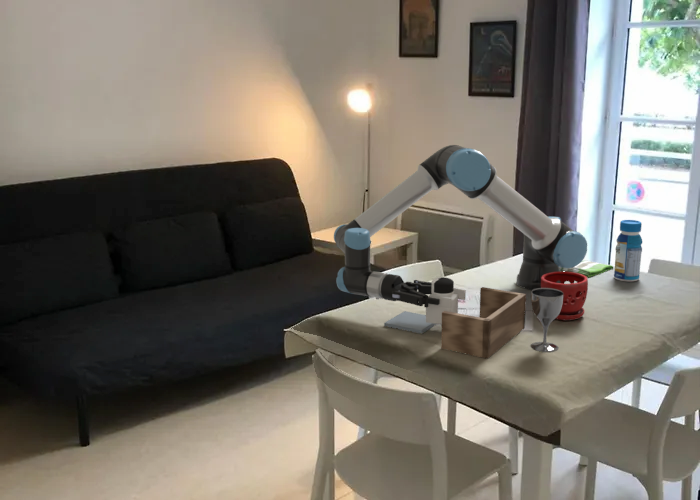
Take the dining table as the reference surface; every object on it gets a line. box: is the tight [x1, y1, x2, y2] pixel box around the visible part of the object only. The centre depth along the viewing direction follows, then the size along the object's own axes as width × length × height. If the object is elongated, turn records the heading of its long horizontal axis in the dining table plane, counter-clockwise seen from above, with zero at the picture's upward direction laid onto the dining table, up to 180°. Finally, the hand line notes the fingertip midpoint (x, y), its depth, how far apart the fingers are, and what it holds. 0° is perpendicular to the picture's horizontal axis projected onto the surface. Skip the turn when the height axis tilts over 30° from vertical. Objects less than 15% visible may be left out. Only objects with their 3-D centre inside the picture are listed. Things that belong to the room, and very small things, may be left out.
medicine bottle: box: [425, 276, 459, 326], centre depth 204 cm, size 7×7×12 cm
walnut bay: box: [440, 286, 527, 359], centre depth 200 cm, size 13×26×10 cm, turn 147°
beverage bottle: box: [613, 219, 643, 283], centre depth 251 cm, size 8×8×20 cm
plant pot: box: [541, 271, 589, 321], centre depth 216 cm, size 13×13×12 cm
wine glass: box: [530, 288, 563, 353], centre depth 192 cm, size 8×8×15 cm
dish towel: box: [560, 259, 614, 278], centre depth 269 cm, size 17×23×4 cm
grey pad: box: [383, 310, 437, 334], centre depth 213 cm, size 12×12×1 cm
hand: (458, 299), depth 202 cm, fingers closed on medicine bottle, 8 cm apart
